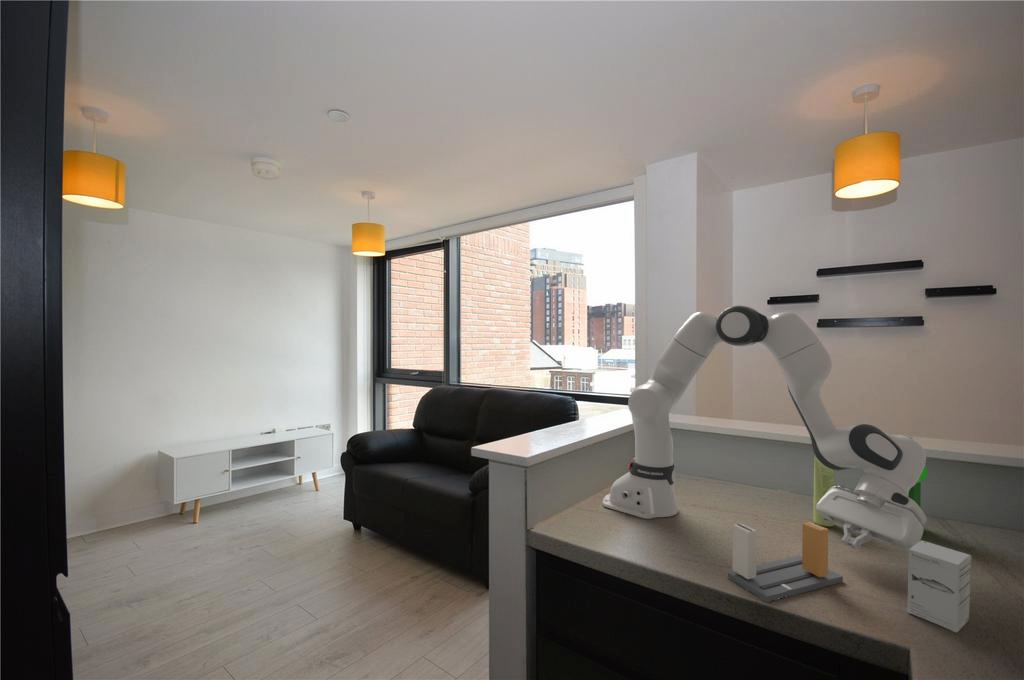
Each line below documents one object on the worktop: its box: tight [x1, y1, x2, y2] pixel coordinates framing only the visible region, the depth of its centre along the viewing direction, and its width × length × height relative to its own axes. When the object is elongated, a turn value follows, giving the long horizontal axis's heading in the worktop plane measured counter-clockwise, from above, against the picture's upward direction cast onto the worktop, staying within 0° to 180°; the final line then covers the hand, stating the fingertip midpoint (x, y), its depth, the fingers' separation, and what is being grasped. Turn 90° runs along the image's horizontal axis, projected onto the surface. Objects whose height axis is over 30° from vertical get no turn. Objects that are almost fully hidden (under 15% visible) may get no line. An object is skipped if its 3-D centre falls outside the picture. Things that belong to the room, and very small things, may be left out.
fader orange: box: [801, 521, 829, 577], centre depth 100 cm, size 2×4×10 cm, turn 20°
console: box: [727, 554, 844, 603], centre depth 100 cm, size 22×10×1 cm, turn 110°
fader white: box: [732, 523, 758, 579], centre depth 99 cm, size 2×4×10 cm, turn 20°
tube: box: [813, 455, 836, 527], centre depth 129 cm, size 6×5×20 cm
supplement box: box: [906, 539, 972, 633], centre depth 87 cm, size 7×7×13 cm
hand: (849, 545), depth 104 cm, fingers closed
